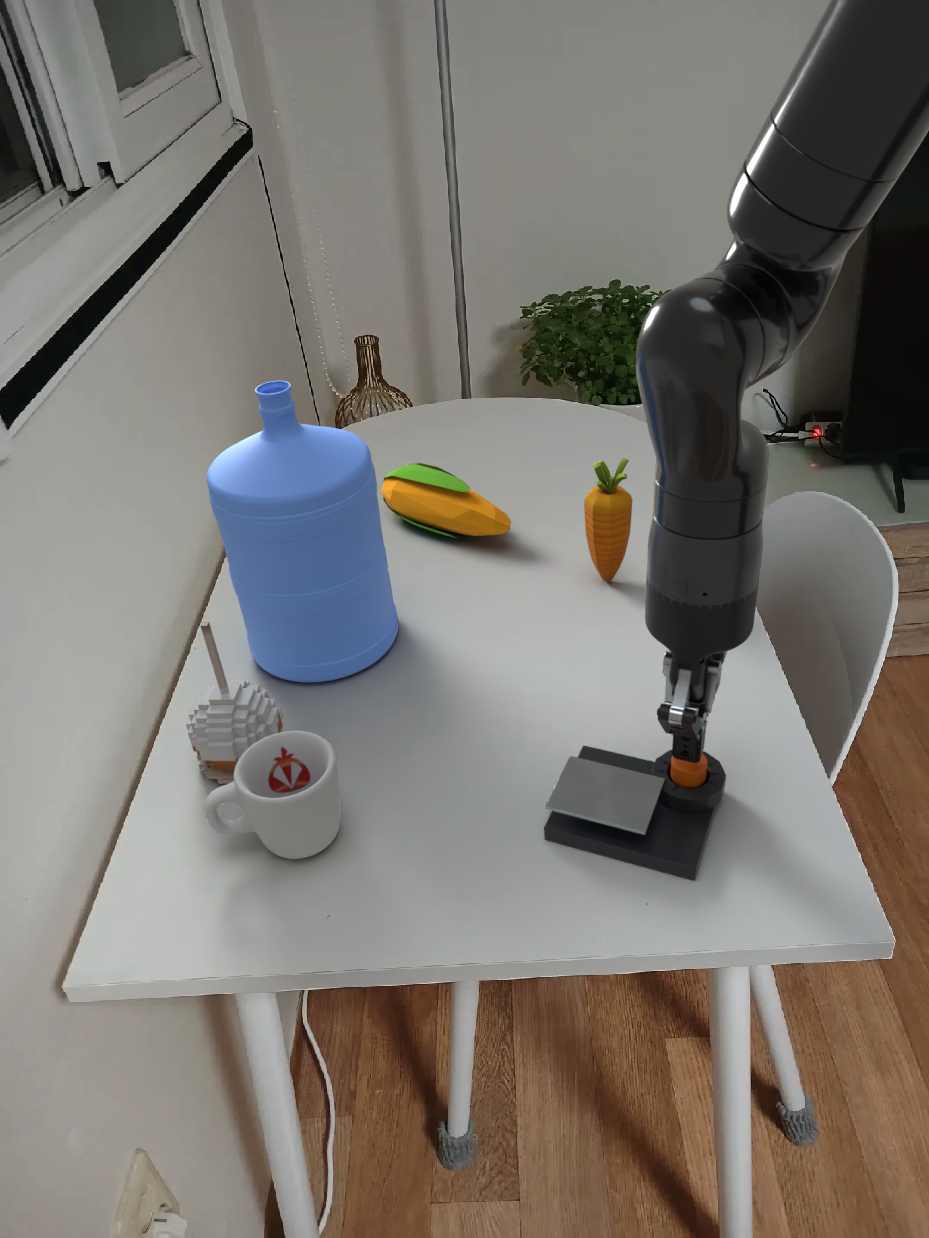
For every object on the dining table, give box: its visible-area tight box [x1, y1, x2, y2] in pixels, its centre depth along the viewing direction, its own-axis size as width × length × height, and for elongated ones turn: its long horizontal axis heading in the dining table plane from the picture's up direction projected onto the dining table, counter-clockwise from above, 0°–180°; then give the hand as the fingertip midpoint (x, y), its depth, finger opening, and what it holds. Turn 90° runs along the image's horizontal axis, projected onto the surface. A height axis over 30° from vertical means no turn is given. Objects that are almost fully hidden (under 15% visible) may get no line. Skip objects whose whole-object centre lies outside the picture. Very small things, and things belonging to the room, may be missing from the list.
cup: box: [204, 730, 342, 860], centre depth 76 cm, size 11×8×8 cm
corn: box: [380, 462, 512, 539], centre depth 116 cm, size 7×8×20 cm
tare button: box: [670, 753, 707, 788], centre depth 76 cm, size 3×3×2 cm
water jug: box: [206, 380, 399, 683], centre depth 92 cm, size 16×16×28 cm
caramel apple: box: [185, 621, 284, 784], centre depth 82 cm, size 8×8×15 cm
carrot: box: [583, 457, 633, 584], centre depth 101 cm, size 5×5×15 cm
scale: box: [543, 745, 727, 881], centre depth 77 cm, size 12×11×3 cm
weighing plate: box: [544, 755, 665, 835], centre depth 75 cm, size 8×6×1 cm
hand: (687, 754), depth 75 cm, fingers closed
